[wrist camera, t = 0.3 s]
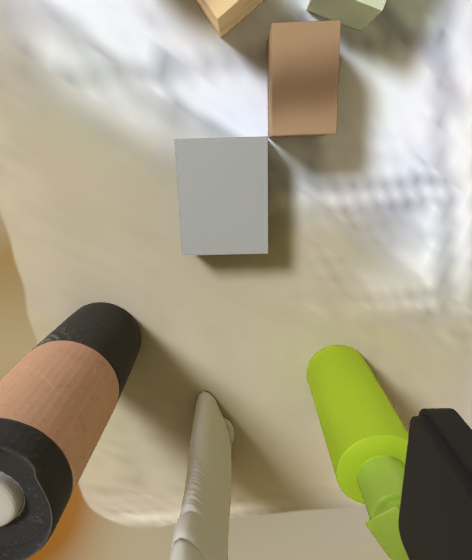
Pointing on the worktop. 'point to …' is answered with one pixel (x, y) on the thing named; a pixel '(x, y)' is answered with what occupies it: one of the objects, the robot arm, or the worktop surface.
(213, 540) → the beige tall block
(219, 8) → the oak block
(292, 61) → the walnut block
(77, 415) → the travel mug
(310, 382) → the soap dispenser
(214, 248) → the slate block
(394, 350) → the worktop surface
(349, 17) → the sage block
